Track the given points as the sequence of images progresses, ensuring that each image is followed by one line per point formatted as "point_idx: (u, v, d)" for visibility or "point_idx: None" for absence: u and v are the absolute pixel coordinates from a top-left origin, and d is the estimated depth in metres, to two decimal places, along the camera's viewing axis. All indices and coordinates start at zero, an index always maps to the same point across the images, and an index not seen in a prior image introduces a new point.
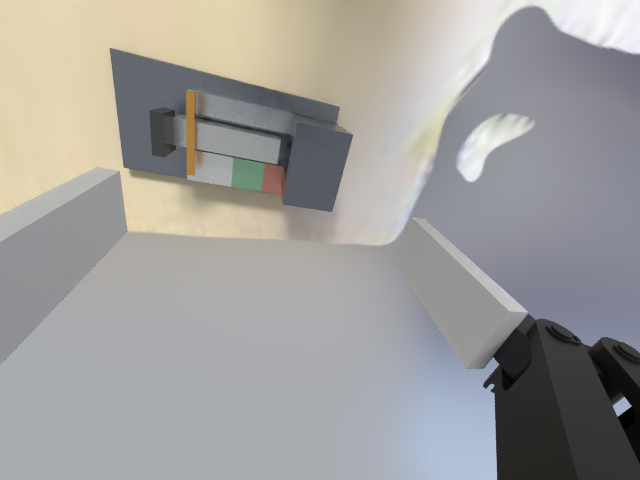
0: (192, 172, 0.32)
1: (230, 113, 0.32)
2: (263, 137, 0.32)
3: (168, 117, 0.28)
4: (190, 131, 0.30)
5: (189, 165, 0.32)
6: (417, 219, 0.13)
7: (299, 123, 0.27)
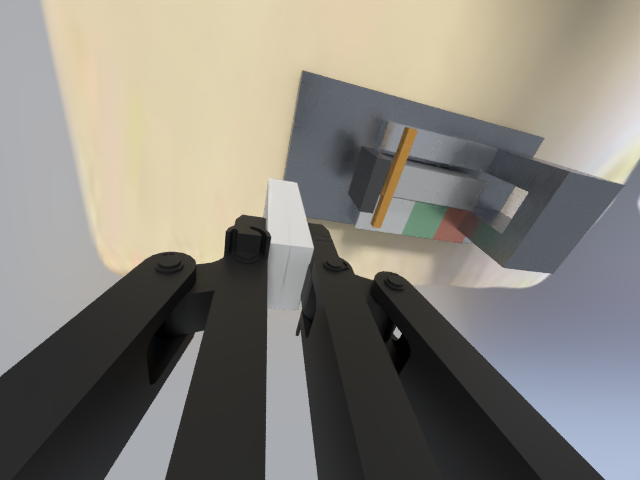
0: (379, 224, 0.26)
1: (428, 149, 0.25)
2: (469, 180, 0.25)
3: None
4: (395, 177, 0.23)
5: (380, 216, 0.25)
6: (287, 182, 0.14)
7: (571, 173, 0.20)
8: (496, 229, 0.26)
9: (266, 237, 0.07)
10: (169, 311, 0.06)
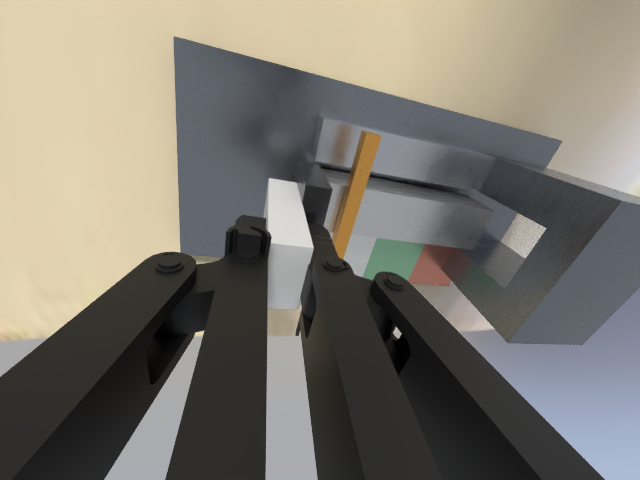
0: None
1: (391, 161, 0.17)
2: (467, 208, 0.17)
3: None
4: (351, 208, 0.15)
5: None
6: (287, 182, 0.14)
7: (624, 203, 0.12)
8: (495, 279, 0.17)
9: (266, 237, 0.07)
10: (169, 311, 0.06)
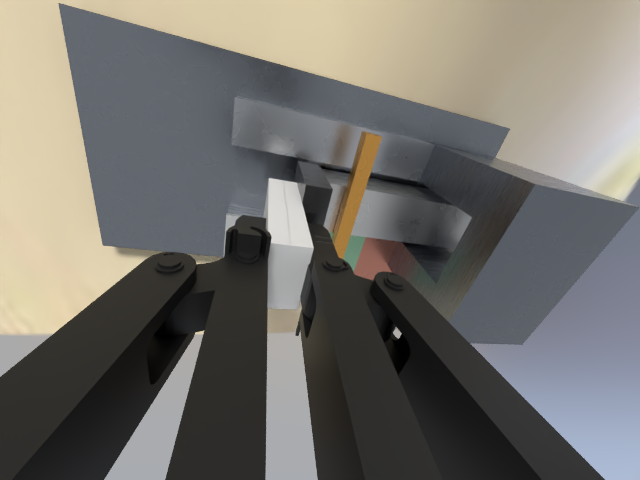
0: None
1: (317, 146, 0.16)
2: None
3: None
4: (351, 209, 0.15)
5: None
6: (287, 182, 0.14)
7: (538, 187, 0.10)
8: (430, 273, 0.16)
9: (266, 237, 0.07)
10: (169, 311, 0.06)
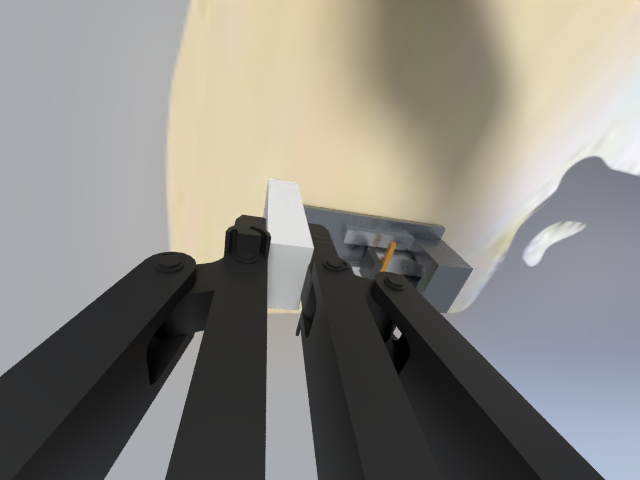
0: None
1: (372, 241, 0.44)
2: None
3: None
4: (385, 265, 0.43)
5: None
6: (287, 182, 0.14)
7: (439, 265, 0.38)
8: None
9: (266, 237, 0.07)
10: (169, 311, 0.06)
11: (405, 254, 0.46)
